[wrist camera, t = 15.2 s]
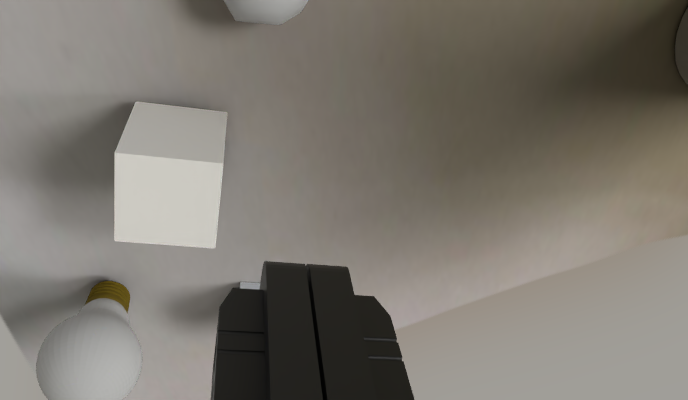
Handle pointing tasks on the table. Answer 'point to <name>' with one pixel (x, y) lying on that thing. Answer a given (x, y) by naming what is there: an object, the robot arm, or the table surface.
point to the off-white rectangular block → (169, 176)
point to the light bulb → (92, 350)
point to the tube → (265, 10)
